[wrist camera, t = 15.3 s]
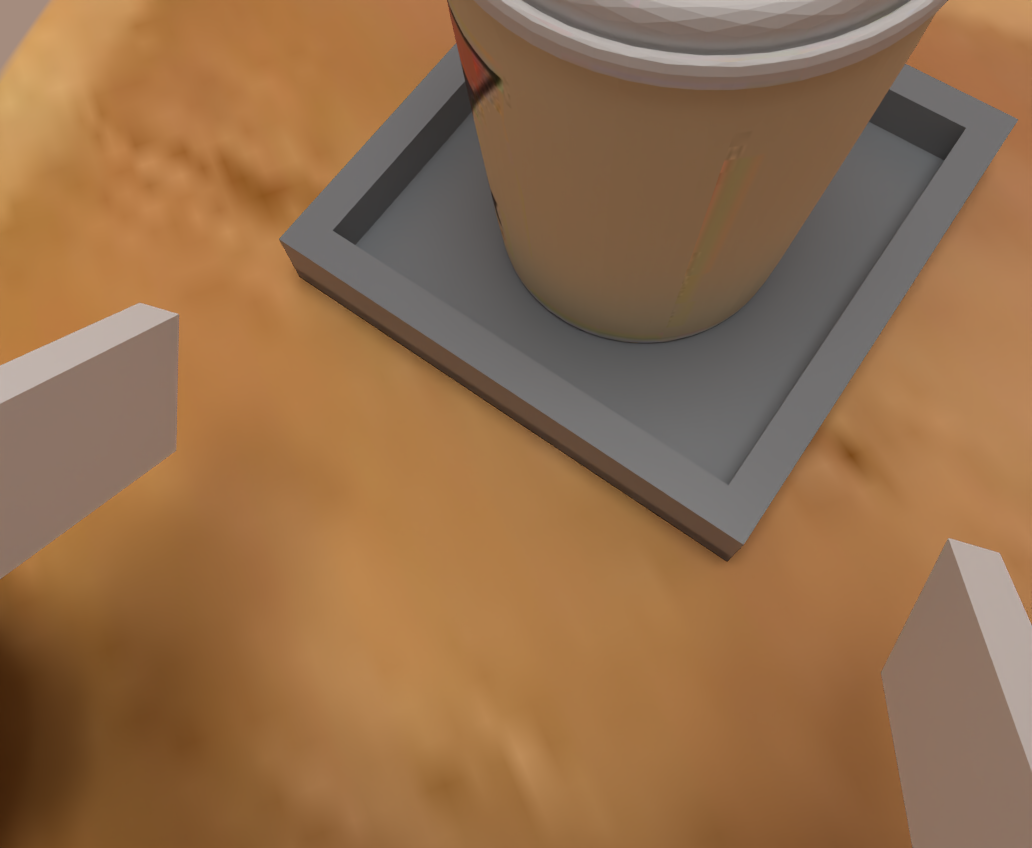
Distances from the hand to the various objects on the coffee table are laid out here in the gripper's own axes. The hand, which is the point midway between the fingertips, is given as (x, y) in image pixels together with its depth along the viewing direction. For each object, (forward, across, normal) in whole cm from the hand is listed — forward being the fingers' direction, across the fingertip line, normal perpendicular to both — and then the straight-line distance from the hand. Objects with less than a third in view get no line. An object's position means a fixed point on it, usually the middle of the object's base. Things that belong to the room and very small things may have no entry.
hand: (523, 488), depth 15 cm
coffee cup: (+12, 0, +2) cm, 12 cm away
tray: (+13, 0, +2) cm, 13 cm away
